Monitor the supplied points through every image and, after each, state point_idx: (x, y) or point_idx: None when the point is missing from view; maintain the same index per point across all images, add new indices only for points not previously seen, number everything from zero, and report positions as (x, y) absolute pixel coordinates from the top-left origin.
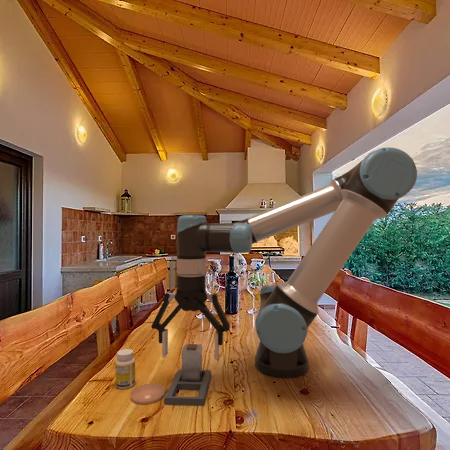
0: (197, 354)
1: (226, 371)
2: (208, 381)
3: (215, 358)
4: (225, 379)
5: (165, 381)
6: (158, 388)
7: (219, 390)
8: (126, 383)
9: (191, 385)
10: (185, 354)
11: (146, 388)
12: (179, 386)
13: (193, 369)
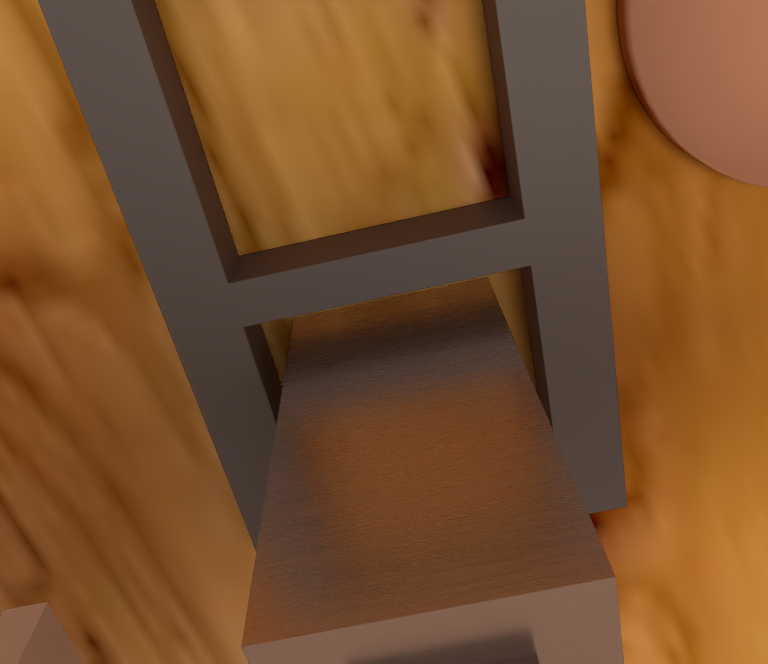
0: (282, 582)
1: (169, 634)
2: (190, 374)
3: (29, 615)
4: (105, 511)
5: (705, 322)
6: (735, 94)
7: (51, 308)
8: None
9: (349, 250)
10: (515, 536)
11: None
12: (492, 212)
13: (360, 409)
